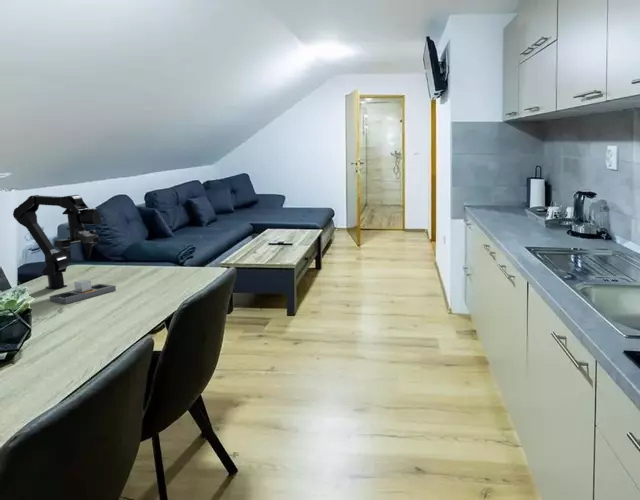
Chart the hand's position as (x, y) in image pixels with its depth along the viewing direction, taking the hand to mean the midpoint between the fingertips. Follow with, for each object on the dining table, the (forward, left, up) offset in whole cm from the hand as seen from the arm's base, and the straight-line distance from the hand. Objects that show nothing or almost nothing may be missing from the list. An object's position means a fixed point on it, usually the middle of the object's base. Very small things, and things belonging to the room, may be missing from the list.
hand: (79, 260), depth 253 cm
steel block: (+13, -9, -12) cm, 20 cm away
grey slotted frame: (+13, -9, -12) cm, 20 cm away
